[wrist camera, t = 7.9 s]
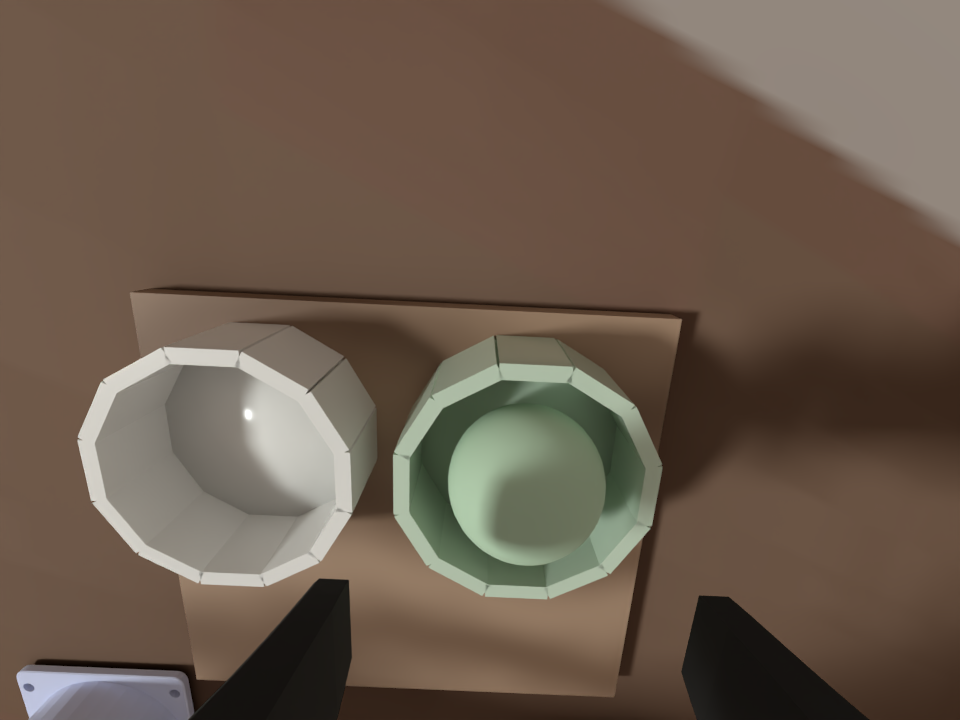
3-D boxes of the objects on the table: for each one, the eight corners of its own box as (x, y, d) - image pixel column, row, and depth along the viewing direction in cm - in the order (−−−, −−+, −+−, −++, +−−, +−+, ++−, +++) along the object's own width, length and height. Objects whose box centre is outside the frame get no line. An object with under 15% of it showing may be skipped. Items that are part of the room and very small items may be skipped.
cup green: (609, 534, 18) (637, 603, 15) (410, 526, 18) (394, 592, 15) (639, 341, 16) (680, 371, 13) (411, 331, 16) (392, 358, 13)
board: (608, 676, 22) (614, 697, 21) (209, 659, 22) (196, 679, 21) (670, 314, 17) (682, 319, 16) (149, 288, 17) (129, 292, 16)
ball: (576, 504, 18) (615, 607, 13) (449, 500, 17) (440, 603, 13) (591, 385, 16) (641, 450, 11) (453, 379, 16) (445, 442, 11)
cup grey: (378, 524, 18) (355, 591, 15) (178, 515, 18) (109, 580, 15) (374, 329, 16) (346, 355, 13) (145, 317, 16) (54, 341, 13)
